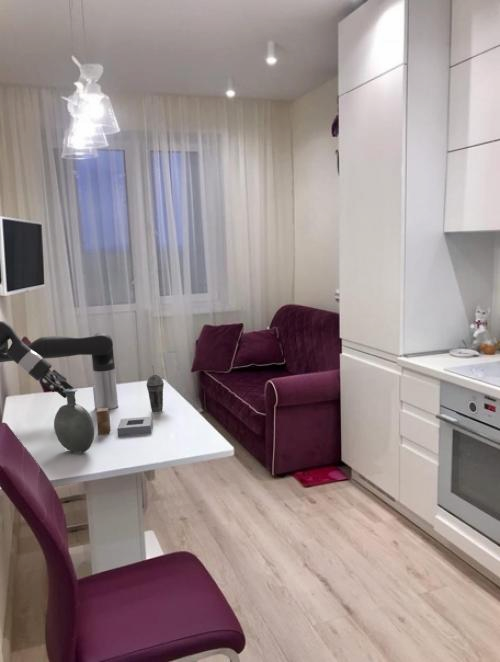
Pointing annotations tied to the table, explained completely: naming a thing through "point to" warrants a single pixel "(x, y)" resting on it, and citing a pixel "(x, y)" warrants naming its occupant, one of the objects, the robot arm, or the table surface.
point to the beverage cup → (155, 392)
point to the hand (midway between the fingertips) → (69, 393)
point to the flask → (74, 425)
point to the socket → (135, 426)
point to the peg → (103, 421)
